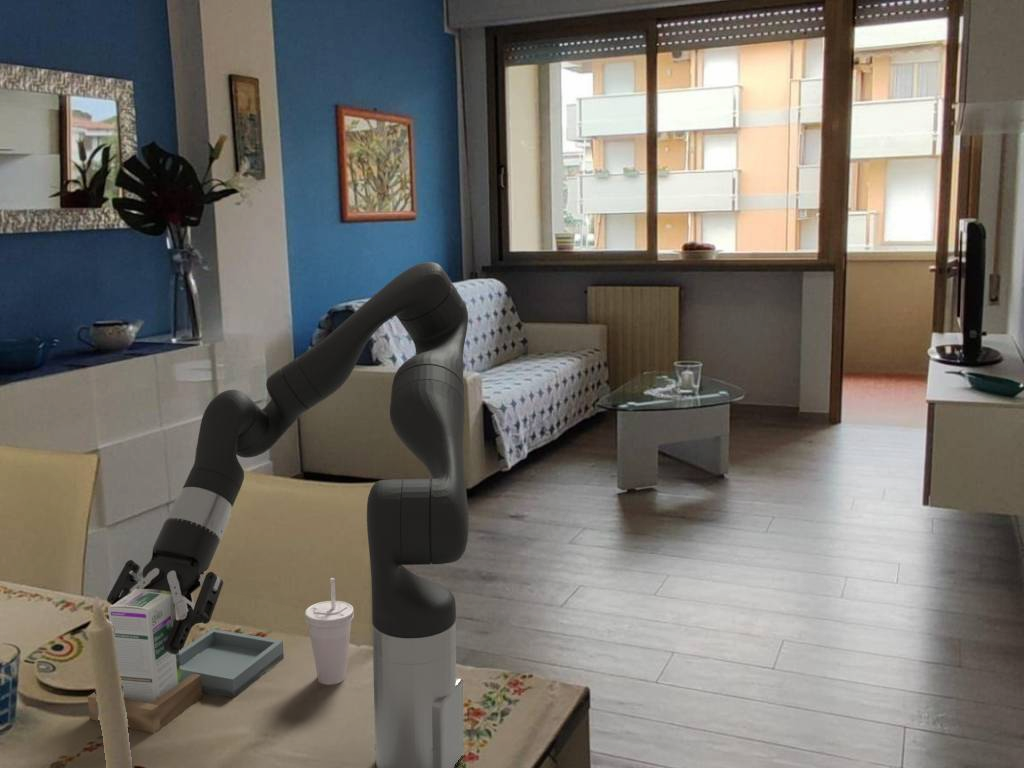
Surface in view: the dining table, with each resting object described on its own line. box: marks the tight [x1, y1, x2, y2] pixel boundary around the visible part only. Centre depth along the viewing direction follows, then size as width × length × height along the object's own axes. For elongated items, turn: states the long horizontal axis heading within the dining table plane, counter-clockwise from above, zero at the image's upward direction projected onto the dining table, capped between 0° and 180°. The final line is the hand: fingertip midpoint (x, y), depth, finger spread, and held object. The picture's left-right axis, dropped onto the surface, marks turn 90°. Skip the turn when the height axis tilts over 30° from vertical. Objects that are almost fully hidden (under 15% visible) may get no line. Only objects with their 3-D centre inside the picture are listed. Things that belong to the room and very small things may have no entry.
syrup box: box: [107, 589, 182, 704], centre depth 121 cm, size 6×6×14 cm
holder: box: [87, 674, 203, 734], centre depth 122 cm, size 10×9×3 cm
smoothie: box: [304, 577, 355, 686], centre depth 128 cm, size 6×6×14 cm
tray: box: [179, 628, 285, 698], centre depth 131 cm, size 12×12×2 cm
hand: (141, 647), depth 120 cm, fingers open, 8 cm apart
